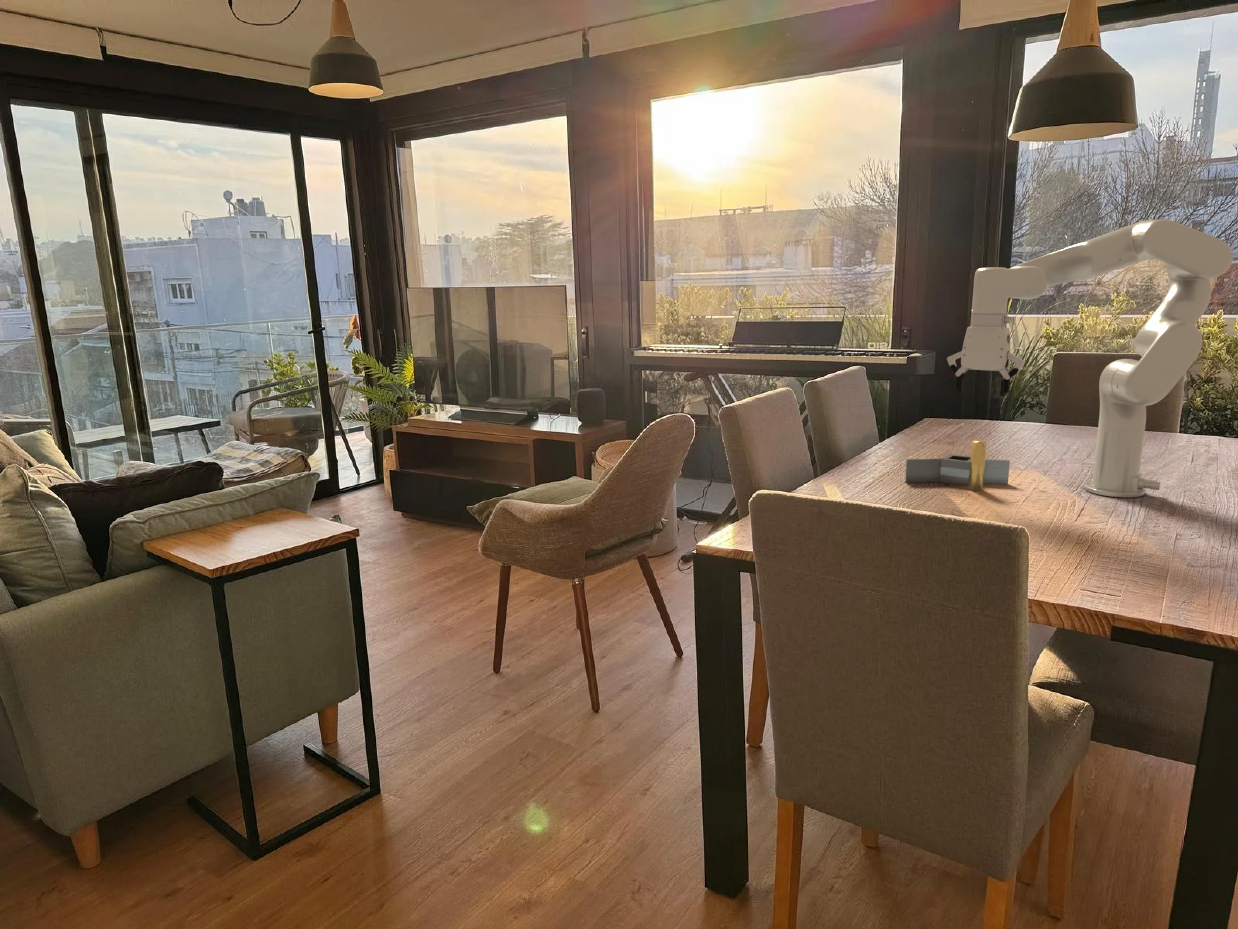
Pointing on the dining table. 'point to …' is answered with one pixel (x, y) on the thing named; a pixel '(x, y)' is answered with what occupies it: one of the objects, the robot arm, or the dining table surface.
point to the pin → (977, 465)
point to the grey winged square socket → (954, 470)
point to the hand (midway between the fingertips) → (982, 394)
